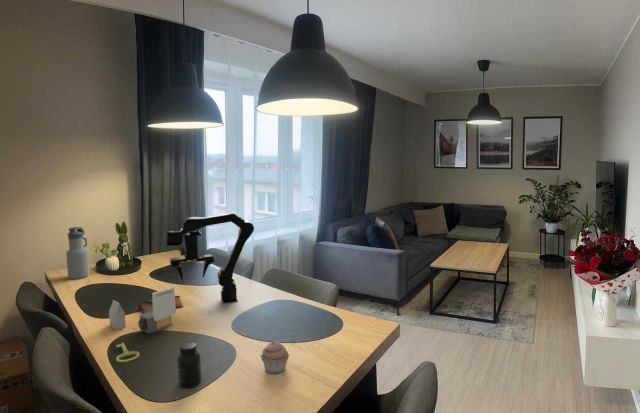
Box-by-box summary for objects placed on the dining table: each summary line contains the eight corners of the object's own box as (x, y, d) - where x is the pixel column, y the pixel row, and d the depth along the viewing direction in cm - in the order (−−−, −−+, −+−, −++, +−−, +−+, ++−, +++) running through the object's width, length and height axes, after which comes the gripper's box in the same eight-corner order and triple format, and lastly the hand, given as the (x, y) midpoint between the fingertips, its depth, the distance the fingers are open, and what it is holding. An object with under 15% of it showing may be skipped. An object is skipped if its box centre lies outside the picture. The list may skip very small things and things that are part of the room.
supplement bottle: (192, 374, 129) (190, 338, 128) (206, 381, 126) (205, 344, 124) (173, 384, 124) (171, 346, 122) (187, 391, 120) (186, 353, 118)
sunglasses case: (142, 315, 175) (140, 300, 177) (140, 318, 181) (138, 303, 183) (185, 306, 185) (182, 292, 187) (181, 310, 191) (179, 296, 193)
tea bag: (116, 330, 161) (114, 305, 160) (109, 324, 166) (108, 301, 165) (125, 327, 164) (124, 303, 163) (119, 322, 169) (117, 298, 167)
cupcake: (261, 362, 137) (261, 334, 135) (289, 361, 137) (289, 333, 136) (259, 377, 127) (258, 347, 126) (289, 377, 128) (288, 346, 127)
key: (123, 347, 148) (123, 341, 148) (142, 357, 141) (141, 351, 141) (103, 355, 142) (102, 349, 142) (121, 366, 135) (121, 360, 135)
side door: (173, 313, 166) (172, 287, 164) (176, 314, 165) (175, 287, 163) (153, 320, 159) (152, 293, 157) (155, 321, 158) (154, 294, 156)
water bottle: (76, 273, 235) (73, 225, 231) (92, 274, 234) (89, 226, 230) (64, 279, 225) (59, 229, 221) (80, 279, 224) (76, 229, 220)
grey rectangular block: (163, 321, 169) (162, 307, 169) (171, 325, 166) (171, 310, 165) (137, 330, 161) (136, 316, 160) (146, 334, 157) (145, 319, 156)
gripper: (209, 240, 196) (210, 271, 199) (168, 243, 189) (169, 276, 191) (213, 244, 186) (214, 278, 188) (170, 248, 179) (171, 283, 181)
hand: (192, 278), depth 187 cm, fingers open, 9 cm apart
